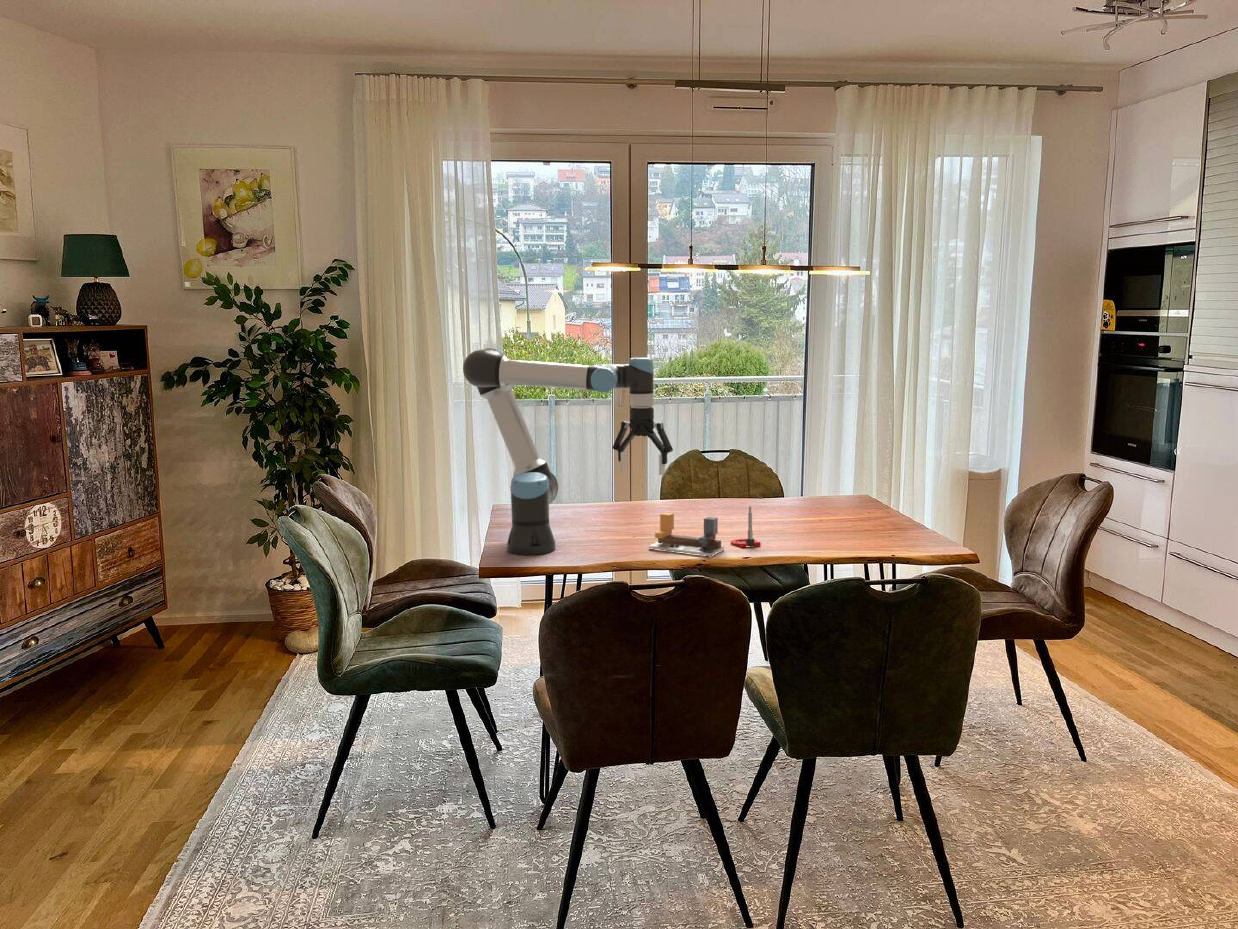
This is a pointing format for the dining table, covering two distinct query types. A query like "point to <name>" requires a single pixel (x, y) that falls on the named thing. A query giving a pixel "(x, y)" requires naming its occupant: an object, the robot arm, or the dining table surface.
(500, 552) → the dining table surface
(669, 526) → the orange toy chair
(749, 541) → the tow hook
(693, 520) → the dining table surface
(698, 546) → the bolt plate
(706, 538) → the fixed leg
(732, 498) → the dining table surface
